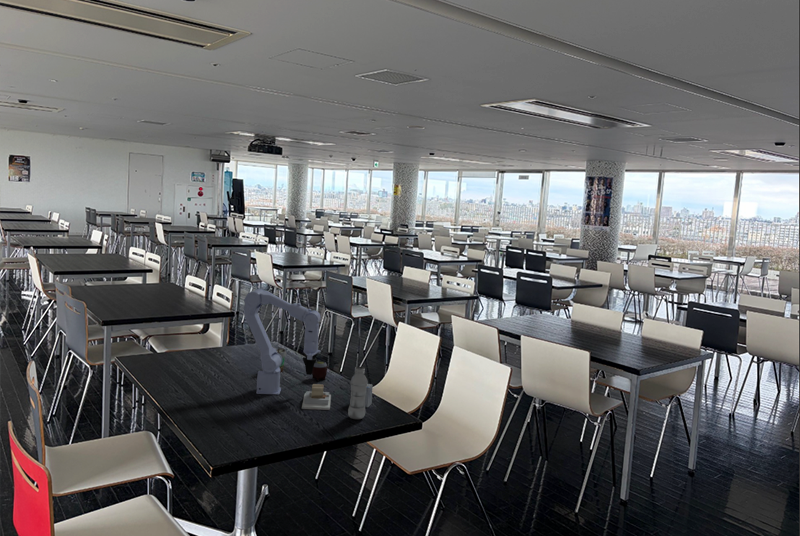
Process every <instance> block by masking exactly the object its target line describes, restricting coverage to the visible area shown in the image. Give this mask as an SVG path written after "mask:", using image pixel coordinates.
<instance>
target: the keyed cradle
mask: <svg viewBox="0 0 800 536" xmlns="http://www.w3.org/2000/svg"><path fill="white" fill-rule="evenodd" d="M323 395H327V397H325V399H320V398H312V390H309V391H308V390H307V391H305V393H304V395H303V400H302V404H301V409H302V410H319V411H321V410H324V411H330V410H331V400H332V394H330V391H323Z"/></svg>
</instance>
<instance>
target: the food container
mask: <svg viewBox="0 0 800 536" xmlns="http://www.w3.org/2000/svg"><path fill="white" fill-rule="evenodd" d="M276 351H277V353H278V354H279V355H280V356H281V357H282V364H281V365H280V374H281V372H282V373H283V372H284V366H285V359H286V356H287V351H286V349H285V348H283V347H278V348H277V349H276Z"/></svg>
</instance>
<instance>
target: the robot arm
mask: <svg viewBox="0 0 800 536" xmlns="http://www.w3.org/2000/svg"><path fill="white" fill-rule="evenodd" d="M243 302H244V306H243V307H244V308H243V316H244V318H245V320H246V323H247V325H248V327H249V330H250V332H251V333H252V335H253V338H254V341H255V343H256V345H257V348H258V350H259V351H260V357H259V358H260V361H261V369H262V370H258V371H257V377H256V391H255V392H256V393H255V394H257V395H274V396H275V395H277V396H278V395H280V393H281V390H282V387H280V386H281V373H280V365H281V364H282V357H281V356H280V355H279V354H278V353H277V351H276V350H277V349H276V348H274V347H273V346H272V342H271V341H270V340H271V339H270V338H269V336H268V333H267V332H266V329H265V327H264V325H263V323H262V319H261V318H260V315H259V313H258V312H259V311H260V309H261V306H265V305H272V306H275V307H277V308H279V309H281V310H284V311H286V312H287V313H288V315H289V316H290V317H292V318H294V319H295V320H298V321H300V322H303V323H304V324H305V328H304V343H303V345H304V346H303V354H304V357H302V361H303V365H304V367H305V374H306V375H309V376H312V371H313V367H314V364H315V362H316V360H317V356H318V355H319V354H320V353H321V350H320V349H319V335H320V334H319V333H320V327H319V326H320V322H321V319H322V316H321V313H320V312H319V311H317V310H316V309H313V310H312V309H311V308H307V307H305V306H303V305H302V303H300V302H297V303H296V302H293V303H290V302H288V301H286V300H284V299H283V298H281V297H279V296H277V295H275V294H274V293H272V292H271V291H269V290H265V289H263V288H261V287H259V288H256V289H255V290H252V291H250V292H248V293H247V294H246V295H245V297H244V299H243ZM315 358H316V359H315ZM317 361H318V360H317Z"/></svg>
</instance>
